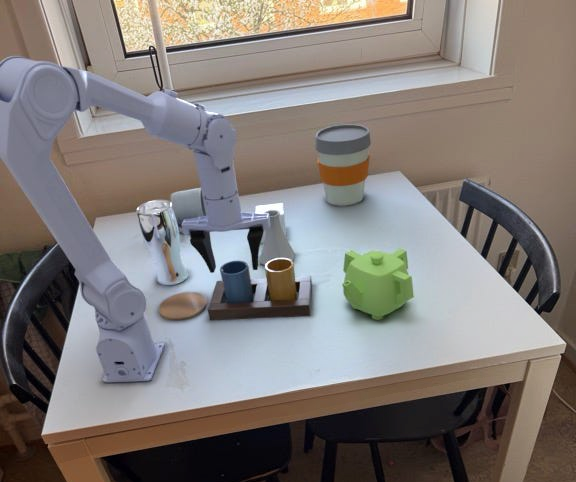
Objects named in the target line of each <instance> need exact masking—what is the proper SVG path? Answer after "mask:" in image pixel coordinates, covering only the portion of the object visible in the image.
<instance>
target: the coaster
mask: <svg viewBox="0 0 576 482" xmlns="http://www.w3.org/2000/svg"><path fill="white" fill-rule="evenodd" d="M207 305H208V300H207V299H206V296H205V295H203V294H202V293H199V292H193V291H185V292H180V293H176V294H173V295H171V296H169V297H167V298H165V299H164V300H163V301H161V303H160V304H159V306H158V314H159V315H160V316H161V317H162V318H163V319H165V320H169V321H183V320H189V319H191V318H193V317H196V316H198V315H199V314H201V313H202V312H203V311H204V310H205V309H206V308H207Z"/></svg>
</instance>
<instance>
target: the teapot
mask: <svg viewBox="0 0 576 482" xmlns="http://www.w3.org/2000/svg"><path fill="white" fill-rule="evenodd" d="M342 269H343V270H342V271H343V272H344V273H345V276H344V280H343V282H342V283H341V285H342V288H343V289H342V290H343V291H342V292H343V296H344V298H345V300H346V301H347V302H348V303H349V304H350V305H351V308H352V309H353V310H359V311H361V312H364V313H365V314H369V315H371V318H372V319H373V320H375V321H377V320H378V321H379V320H382V319H383V318H384V316H386V315H389V314H390V313H392V312H395V311H396V310H398V309H399V308H401V307H403V305H404V304H406V303H407V302H408V301H410V300H411V299H413V298H414V296H415V295H414V286H413V277H412V276H413V275H410V274H409V271H408V270H409V260H408V251H407V250H405V249H403V248H398V249H396V250H394V251H393V252H392V253H388V252H384V251H381V250H376V249H375V250H370V251H367V252H365V253H363V254H361V253H358V252H357V251H354V250H352V249H351V250H348V251H347V252H345V253H344V260H343V268H342Z"/></svg>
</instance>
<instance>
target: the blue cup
mask: <svg viewBox="0 0 576 482" xmlns="http://www.w3.org/2000/svg"><path fill="white" fill-rule="evenodd" d="M219 273H220V278H221V281H222V283H223V288H224V293H225V298H226V302H225V303H240V302H253V301H254V296H255V295H254V294H253V290H252V284H251V279H252V278H251V273H250V266H249V263H248V262H246V261H245V260H231V261H228V262H225V263H224V264H222V265H221V266H220V268H219Z"/></svg>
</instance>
